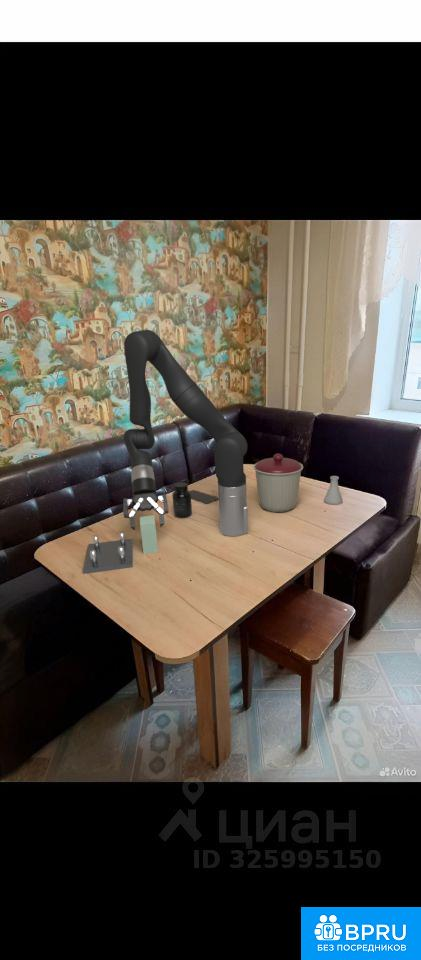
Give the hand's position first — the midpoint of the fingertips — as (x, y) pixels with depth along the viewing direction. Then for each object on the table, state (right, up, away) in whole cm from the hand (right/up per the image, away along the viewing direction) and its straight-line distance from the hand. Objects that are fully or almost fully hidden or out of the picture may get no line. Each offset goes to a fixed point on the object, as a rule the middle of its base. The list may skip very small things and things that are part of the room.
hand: (147, 527), depth 127 cm
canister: (+45, +4, +28) cm, 53 cm away
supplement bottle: (+9, +2, +25) cm, 27 cm away
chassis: (-11, -9, -2) cm, 15 cm away
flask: (+67, +6, +30) cm, 74 cm away
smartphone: (+15, +7, +41) cm, 45 cm away
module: (+1, -7, +2) cm, 7 cm away
